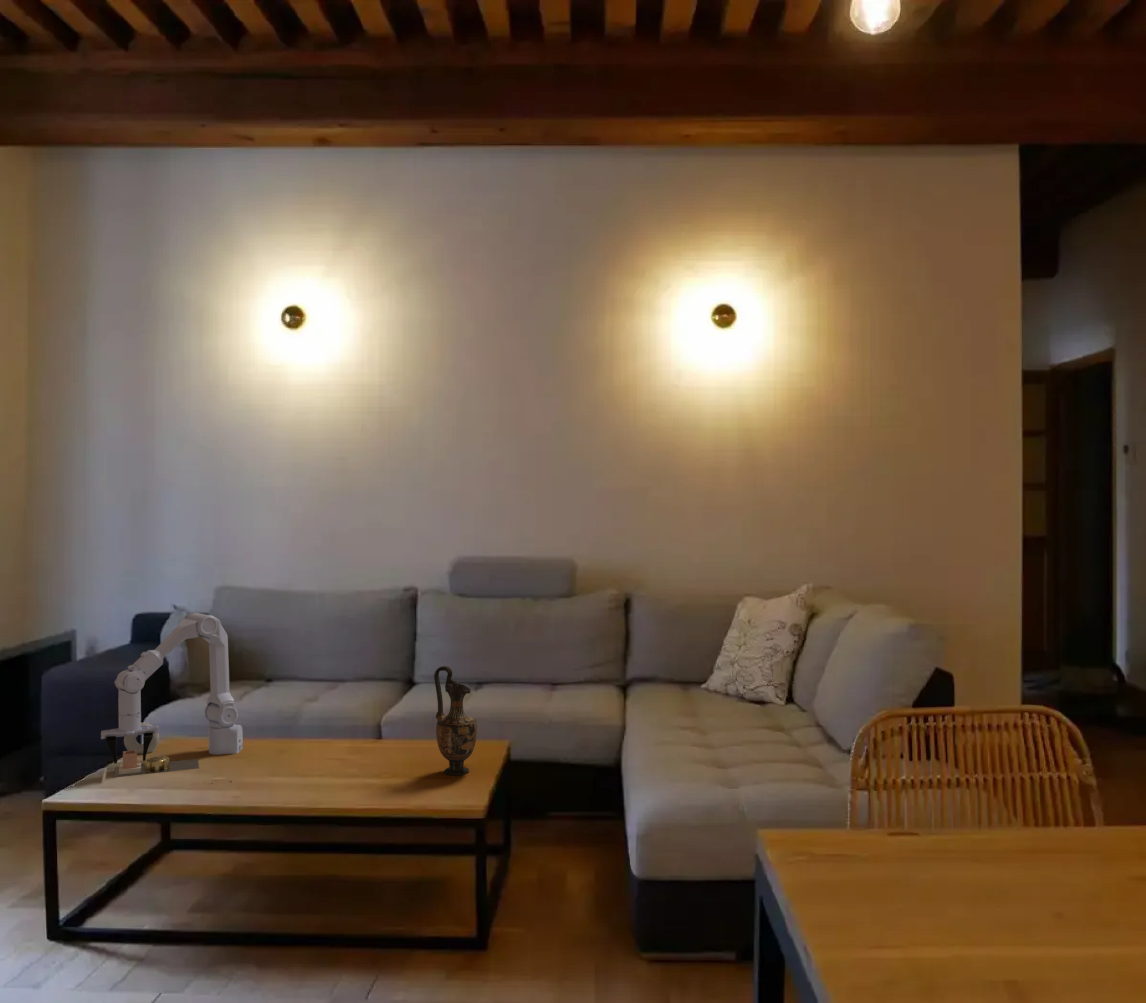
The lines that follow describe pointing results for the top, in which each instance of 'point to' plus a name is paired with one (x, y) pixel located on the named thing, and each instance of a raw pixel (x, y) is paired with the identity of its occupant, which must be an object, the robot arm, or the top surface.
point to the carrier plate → (172, 768)
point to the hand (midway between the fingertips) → (130, 761)
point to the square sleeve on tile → (129, 763)
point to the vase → (454, 725)
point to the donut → (134, 745)
